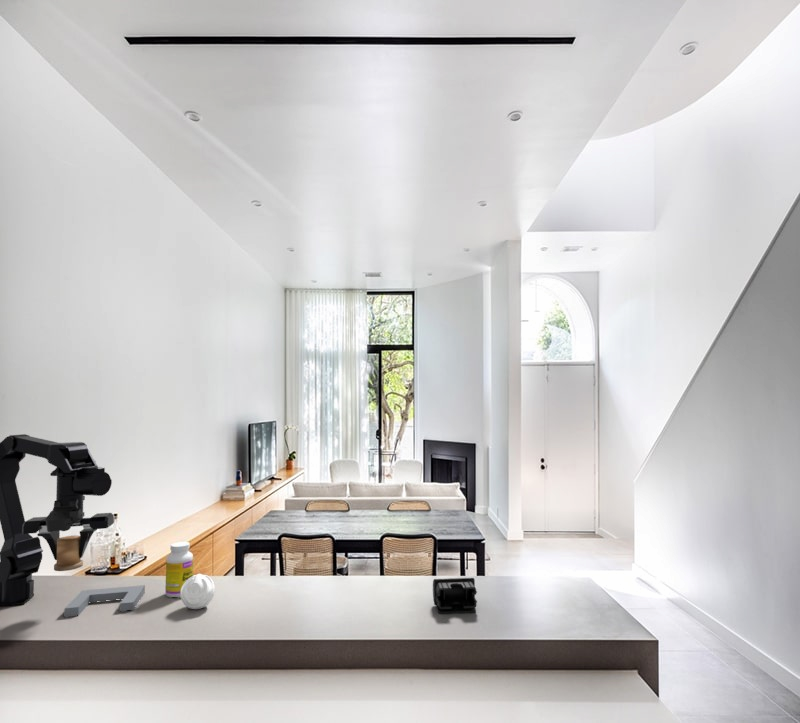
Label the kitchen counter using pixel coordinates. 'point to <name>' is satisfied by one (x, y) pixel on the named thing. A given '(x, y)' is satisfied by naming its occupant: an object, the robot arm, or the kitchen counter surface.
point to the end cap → (454, 595)
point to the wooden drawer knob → (68, 553)
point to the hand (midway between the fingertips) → (68, 558)
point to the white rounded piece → (197, 591)
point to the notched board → (106, 598)
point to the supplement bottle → (178, 568)
